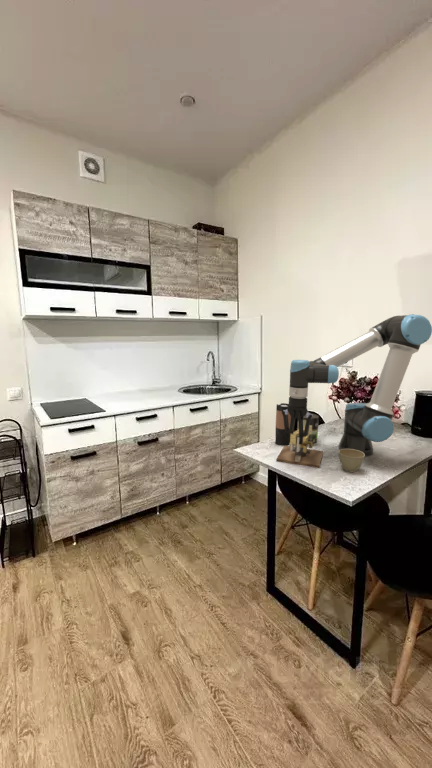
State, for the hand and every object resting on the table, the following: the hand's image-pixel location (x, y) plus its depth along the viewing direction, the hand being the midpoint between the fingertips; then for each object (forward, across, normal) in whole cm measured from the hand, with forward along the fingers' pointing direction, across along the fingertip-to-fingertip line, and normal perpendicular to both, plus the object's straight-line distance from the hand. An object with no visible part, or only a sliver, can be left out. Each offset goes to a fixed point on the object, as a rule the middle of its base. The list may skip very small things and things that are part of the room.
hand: (295, 450), depth 143 cm
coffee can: (+6, -3, +29) cm, 29 cm away
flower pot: (+6, +22, +5) cm, 23 cm away
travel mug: (+6, -13, +20) cm, 24 cm away
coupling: (+1, 0, +7) cm, 7 cm away
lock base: (+5, 0, +7) cm, 9 cm away
